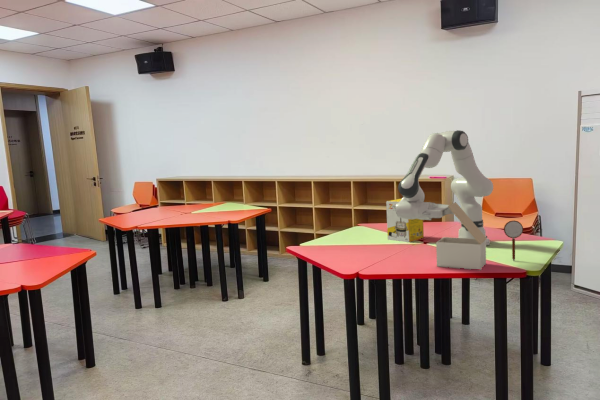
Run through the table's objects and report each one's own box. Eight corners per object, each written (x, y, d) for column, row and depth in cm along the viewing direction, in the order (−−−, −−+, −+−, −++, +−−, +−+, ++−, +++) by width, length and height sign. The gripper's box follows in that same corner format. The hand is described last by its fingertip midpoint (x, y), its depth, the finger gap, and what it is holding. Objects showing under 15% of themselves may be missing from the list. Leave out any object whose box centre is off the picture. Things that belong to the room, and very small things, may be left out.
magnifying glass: (522, 260, 216) (522, 220, 214) (523, 261, 215) (523, 220, 213) (503, 260, 218) (503, 220, 216) (504, 261, 217) (504, 221, 215)
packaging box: (387, 239, 286) (386, 201, 283) (402, 235, 297) (401, 198, 294) (408, 242, 274) (407, 202, 271) (423, 237, 284) (422, 199, 282)
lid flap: (454, 202, 220) (455, 202, 219) (485, 239, 214) (486, 238, 213) (447, 206, 208) (448, 205, 208) (480, 244, 202) (481, 243, 202)
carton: (444, 260, 225) (443, 237, 224) (486, 263, 215) (485, 239, 213) (436, 266, 215) (436, 242, 213) (480, 270, 204) (480, 244, 203)
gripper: (420, 207, 212) (450, 208, 204) (433, 202, 229) (460, 202, 221) (420, 220, 212) (450, 221, 205) (433, 214, 229) (461, 215, 222)
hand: (455, 211), depth 213 cm, fingers closed, pressing on lid flap
